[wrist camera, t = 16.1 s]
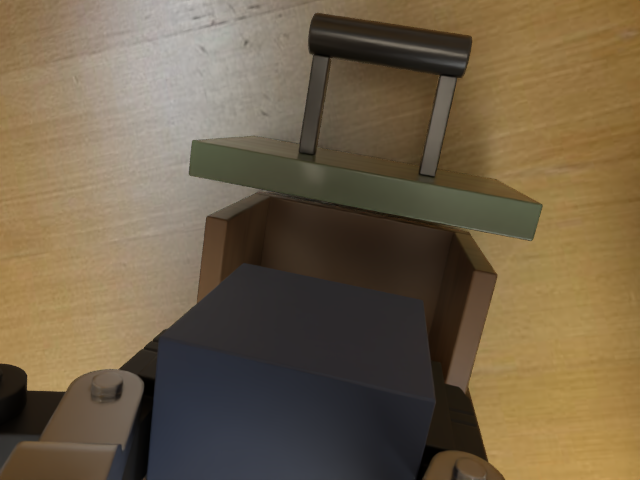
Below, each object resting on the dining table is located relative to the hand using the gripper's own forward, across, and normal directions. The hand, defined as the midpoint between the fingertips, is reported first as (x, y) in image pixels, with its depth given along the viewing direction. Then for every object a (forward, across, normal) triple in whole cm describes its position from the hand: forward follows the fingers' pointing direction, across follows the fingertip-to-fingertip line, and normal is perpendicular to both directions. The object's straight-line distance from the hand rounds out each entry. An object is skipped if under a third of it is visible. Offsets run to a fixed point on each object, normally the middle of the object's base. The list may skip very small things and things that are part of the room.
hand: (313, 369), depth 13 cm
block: (0, 0, 0) cm, 0 cm away
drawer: (+12, 0, 0) cm, 12 cm away
